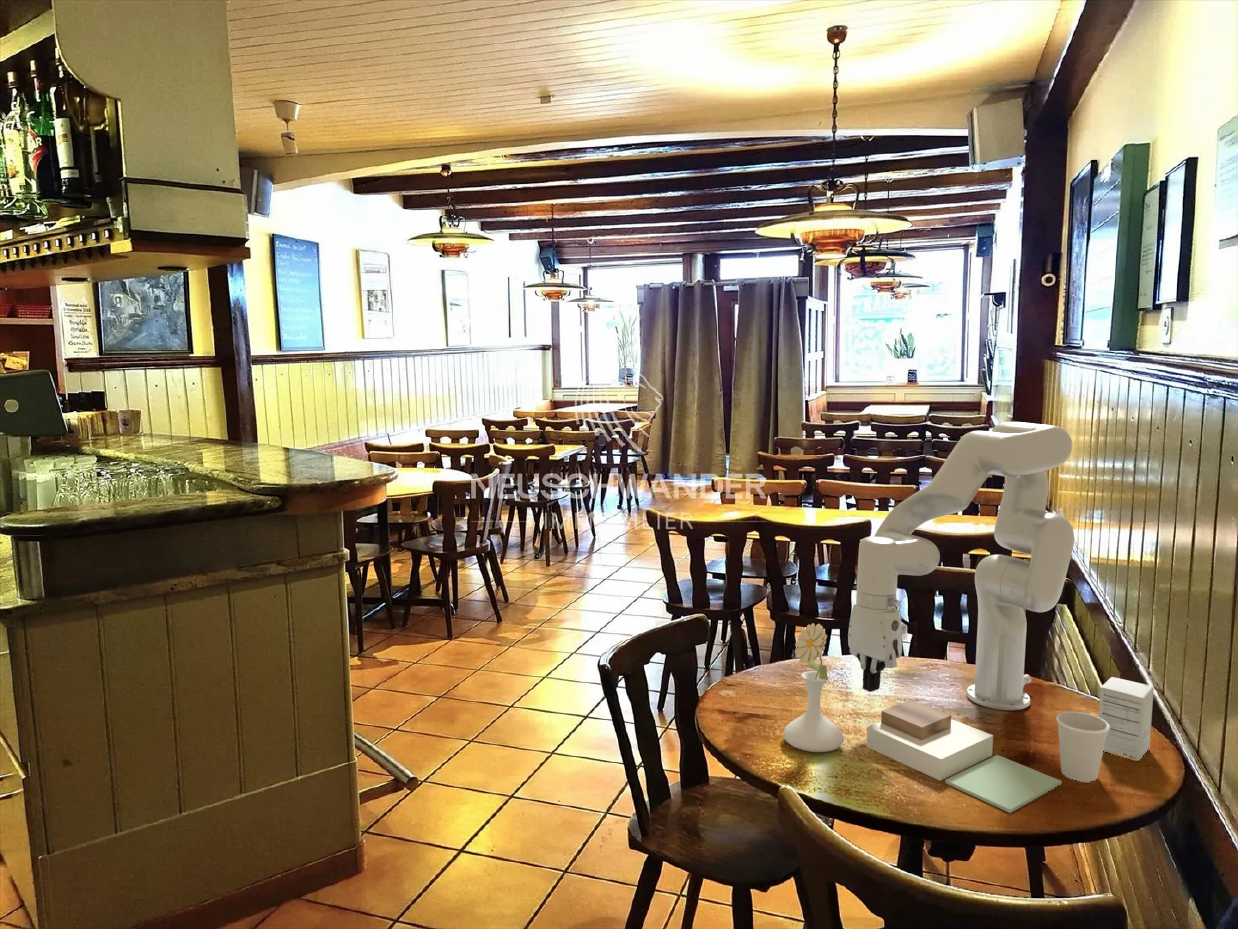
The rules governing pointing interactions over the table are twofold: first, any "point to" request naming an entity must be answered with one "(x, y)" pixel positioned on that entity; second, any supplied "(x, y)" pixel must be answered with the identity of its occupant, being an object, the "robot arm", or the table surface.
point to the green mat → (1003, 783)
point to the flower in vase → (813, 698)
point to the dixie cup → (1081, 744)
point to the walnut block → (916, 719)
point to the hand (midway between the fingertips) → (871, 689)
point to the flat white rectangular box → (933, 748)
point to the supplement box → (1126, 716)
